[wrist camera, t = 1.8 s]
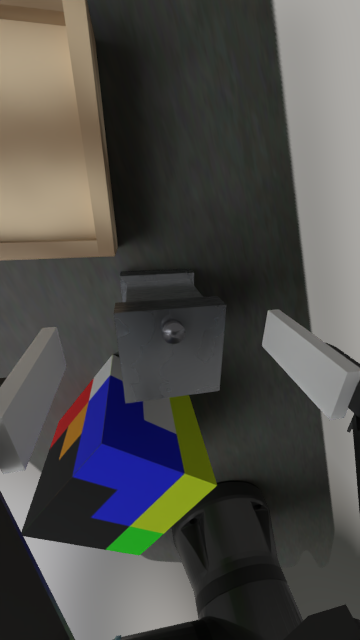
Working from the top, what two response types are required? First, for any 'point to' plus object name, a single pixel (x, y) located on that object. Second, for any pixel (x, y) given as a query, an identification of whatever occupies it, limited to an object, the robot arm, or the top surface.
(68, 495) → the puzzle toy
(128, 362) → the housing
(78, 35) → the tray
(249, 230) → the top surface
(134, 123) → the top surface
